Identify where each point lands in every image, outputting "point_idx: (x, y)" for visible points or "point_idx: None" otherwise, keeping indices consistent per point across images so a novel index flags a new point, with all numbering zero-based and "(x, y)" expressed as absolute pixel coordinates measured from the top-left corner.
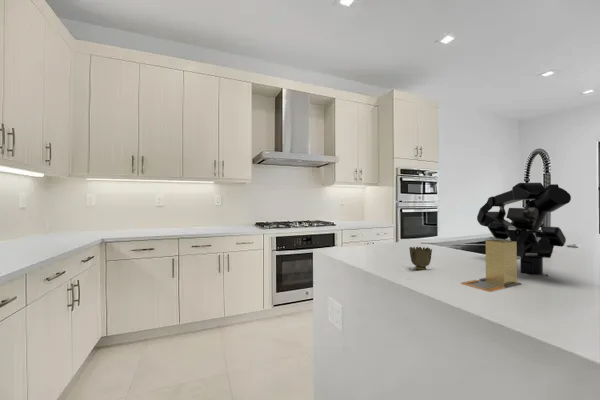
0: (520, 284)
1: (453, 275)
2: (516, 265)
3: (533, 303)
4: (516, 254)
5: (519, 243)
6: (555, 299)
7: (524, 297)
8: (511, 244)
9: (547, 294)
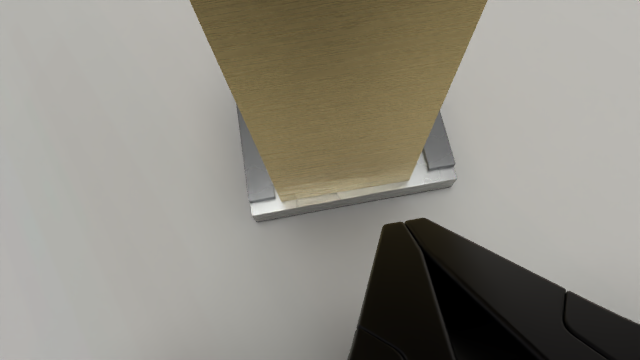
0: (249, 194)
1: (624, 39)
2: (256, 144)
3: (66, 28)
4: (232, 90)
5: (381, 329)
6: (42, 187)
7: (135, 66)
8: None
9: (109, 238)
